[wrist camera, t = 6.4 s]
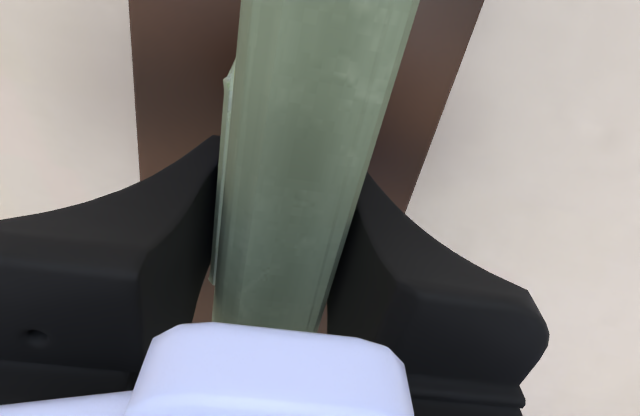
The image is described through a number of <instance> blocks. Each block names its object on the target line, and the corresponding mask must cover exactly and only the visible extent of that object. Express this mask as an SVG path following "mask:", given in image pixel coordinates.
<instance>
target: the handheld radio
mask: <svg viewBox="0 0 640 416" xmlns="http://www.w3.org/2000/svg"><path fill="white" fill-rule="evenodd" d="M419 2H420V0H241V7H240V18H239V29H238V40H237V50H236V58H235V60H234V63H233V65H232V67H231V69H230V71H229V74H228V76H227V77H226V78H224V79H223V85H224V99H223V112H222V124H221V137H220V150H219V163H218V176H217V189H216V201H215V214H214V227H213V240H212V253H211V266H210V274H209V278H208V280H209V281H210V282H211V284H212V285H215V290H214V300H213V311H212V322H220V323H229V324H239V325H248V326H257V327H266V328H276V329H285V330H294V331H303V332H312V333H317V331H318V328H319V325H320V321H321V318H322V315H323V312H324V309H325V305H326V302H327V299H328V296H329V292H330V289H331V286H332V283H333V280H334V276H335V273H336V270H337V267H338V263H339V260H340V257H341V254H342V250H343V247H344V244H345V241H346V238H347V234H348V231H349V228H350V225H351V221H352V218H353V215H354V212H355V209H356V205H357V202H358V199H359V196H360V192H361V189H362V186H363V183H364V179H365V176H366V173H367V170H368V167H369V163H370V160H371V157H372V154H373V150H374V147H375V144H376V141H377V137H378V134H379V131H380V128H381V125H382V121H383V118H384V115H385V112H386V108H387V105H388V102H389V99H390V96H391V92H392V89H393V86H394V83H395V79H396V76H397V73H398V70H399V66H400V63H401V60H402V57H403V54H404V50H405V47H406V44H407V41H408V37H409V34H410V31H411V28H412V25H413V21H414V18H415V15H416V12H417V8H418V5H419Z"/></svg>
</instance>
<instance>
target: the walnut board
mask: <svg viewBox="0 0 640 416" xmlns="http://www.w3.org/2000/svg"><path fill="white" fill-rule="evenodd" d="M483 2H484V0H420V2H419V5H418V8H417V12H416V15H415V18H414V21H413V25H412V28H411V31H410V34H409V37H408V41H407V44H406V47H405V50H404V54H403V57H402V60H401V63H400V66H399V70H398V73H397V76H396V79H395V83H394V86H393V89H392V92H391V96H390V99H389V102H388V105H387V108H386V112H385V115H384V118H383V121H382V125H381V128H380V131H379V134H378V137H377V141H376V144H375V147H374V150H373V154H372V157H371V160H370V163H369V167H368V170H367V172H368V173H369V174H370V176H371V177H372V178H373V180H374V181H375V182H376V183H377V184H378V186H379V187H380V188H381V189H382V190H383V191H384V193H385V194H386V195H387V196H388V197H389V198H390V199H391V200H392V202H393V203H394V204H395V205H396V206H397V207H398V208H399V209H400V210H401V211H402V212H403V213H404V214H405V211H406V209H407V206H408V203H409V201H410V198H411V195H412V193H413V190H414V187H415V185H416V182H417V179H418V176H419V174H420V171H421V168H422V166H423V163H424V160H425V158H426V155H427V152H428V150H429V147H430V144H431V142H432V139H433V136H434V134H435V131H436V128H437V126H438V123H439V120H440V118H441V115H442V112H443V110H444V107H445V104H446V101H447V99H448V96H449V93H450V91H451V88H452V85H453V83H454V80H455V77H456V75H457V72H458V69H459V67H460V64H461V61H462V59H463V56H464V53H465V51H466V48H467V45H468V43H469V40H470V37H471V35H472V32H473V29H474V26H475V24H476V21H477V18H478V16H479V13H480V10H481V8H482V5H483ZM240 7H241V0H129V15H130V31H131V46H132V62H133V77H134V92H135V108H136V123H137V139H138V154H139V169H140V181H143V180H145V179H147V178H149V177H150V176H152V175H154V174H156V173H158V172H159V171H161V170H163V169H164V168H166V167H168V166H169V165H171V164H173V163H174V162H176V161H177V160H179V159H180V158H182V157H183V156H184V155H186V154H187V153H189V152H190V151H191V150H193V149H194V148H195V147H197V146H198V145H199V144H201V143H202V142H203V141H205V140H206V139H208V138H209V137H210V136H212V135H217V136H221V124H222V112H223V99H224V85H223V79H224V78H226V77H227V76H228V74H229V71H230V69H231V67H232V65H233V63H234V60H235V58H236V50H237V40H238V29H239V18H240ZM210 266H211V263H210V265H209V268H208V271H207V273H206V276H205V279H204V281H203V284H202V287H201V290H200V294H199V297H198V300H197V304H196V308H195V312H194V316H193V321H192V323H202V322H212V311H213V300H214V290H215V285H212V284H211V282H210V281H209V280H208V278H209V274H210ZM317 333H322V334H327V302H326V305H325V309H324V312H323V315H322V318H321V321H320V325H319V328H318V331H317Z"/></svg>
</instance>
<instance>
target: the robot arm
mask: <svg viewBox="0 0 640 416" xmlns="http://www.w3.org/2000/svg"><path fill="white" fill-rule="evenodd" d="M220 137H221V136H217V135H212V136H210V137H209V138H208V139H206V140H205V141H203V142H202V143H201V144H199V145H198V146H197V147H195V148H194V149H193V150H191V151H190V152H189V153H187V154H186V155H184V156H183V157H182V158H180V159H179V160H177V161H176V162H174V163H173V164H171V165H169V166H168V167H166V168H164V169H163V170H161V171H159V172H158V173H156V174H154V175H152V176H150V177H149V178H147V179H145V180H143V181H140V182H138V183H136V184H134V185H132V186H129V187H127V188H125V189H122V190H120V191H117V192H114V193H111V194H108V195H106V196H103V197H100V198H97V199H94V200H91V201H88V202H85V203H81V204H77V205H74V206H70V207H66V208H62V209H57V210H53V211H49V212H44V213H39V214H33V215H27V216H21V217H15V218H9V219H3V220H0V416H522V413H521V411H520V408H523V407H524V406H525V398H524V395H523V393H522V391H521V388H520V386H519V385H520V384H521V382H522V381H523V380H524V379H525V377H526V376H527V375H528V374H529V372H530V371H531V370H532V369H533V367H534V366H535V365H536V363H537V362H538V361H539V360H540V358H541V357H542V355H543V353H544V351H545V350H546V348H547V346H548V341H549V335H550V334H549V331H548V328H547V325H546V322H545V321H544V319H543V317H542V315H541V313H540V311H539V310H538V308H537V306H536V304H535V302H534V301H533V299H532V297H531V295H530V294H529V292H528V290H526V289H524V288H522V287H519V286H517V285H515V284H513V283H511V282H509V281H507V280H504V279H502V278H500V277H498V276H496V275H494V274H492V273H490V272H488V271H486V270H484V269H482V268H480V267H479V266H477V265H475V264H473V263H471V262H470V261H468V260H466V259H464V258H463V257H461V256H459V255H458V254H456V253H455V252H453V251H452V250H450V249H449V248H447V247H446V246H444V245H443V244H441V243H440V242H438V241H437V240H436V239H434V238H433V237H432V236H430V235H429V234H428V233H426V232H425V231H424V230H423V229H422V228H420V227H419V226H418V225H417V224H416V223H414V222H413V221H412V220H411V219H410V218H409V217H408V216H406V215H405V214H404V213H403V212H402V211H401V210H400V209H399V208H398V207H397V206H396V205H395V204H394V203H393V202H392V200H391V199H390V198H389V197H388V196H387V195H386V194H385V193H384V191H383V190H382V189H381V188H380V187H379V186H378V184H377V183H376V182H375V181H374V180H373V178H372V177H371V176H370V174H369V173H368V172H367V173H366V176H365V179H364V183H363V186H362V189H361V192H360V196H359V199H358V202H357V205H356V209H355V212H354V215H353V218H352V221H351V225H350V228H349V231H348V234H347V238H346V241H345V244H344V247H343V250H342V254H341V257H340V260H339V263H338V267H337V270H336V273H335V276H334V280H333V283H332V286H331V289H330V292H329V296H328V299H327V334H322V333H312V332H303V331H294V330H285V329H276V328H266V327H257V326H248V325H239V324H229V323H220V322H202V323H192V321H193V316H194V312H195V308H196V304H197V300H198V297H199V294H200V290H201V287H202V284H203V281H204V279H205V276H206V273H207V271H208V268H209V265H210V263H211V253H212V240H213V227H214V214H215V201H216V189H217V176H218V163H219V150H220Z"/></svg>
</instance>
